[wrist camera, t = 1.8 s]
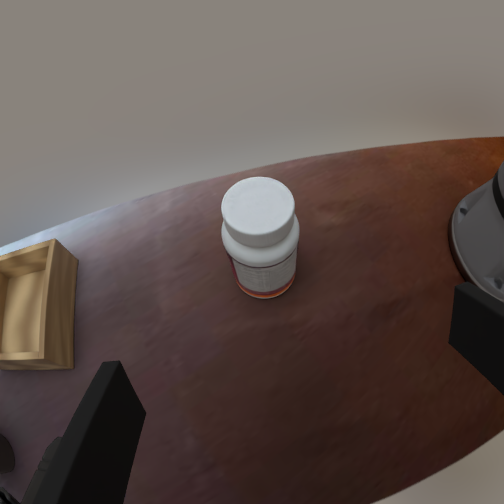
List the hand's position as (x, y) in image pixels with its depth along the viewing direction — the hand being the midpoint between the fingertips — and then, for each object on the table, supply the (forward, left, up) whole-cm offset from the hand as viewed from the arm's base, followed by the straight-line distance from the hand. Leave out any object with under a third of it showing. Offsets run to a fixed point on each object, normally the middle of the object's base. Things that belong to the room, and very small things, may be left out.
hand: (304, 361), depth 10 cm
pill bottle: (0, -12, -17) cm, 21 cm away
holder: (+29, -11, -17) cm, 35 cm away
